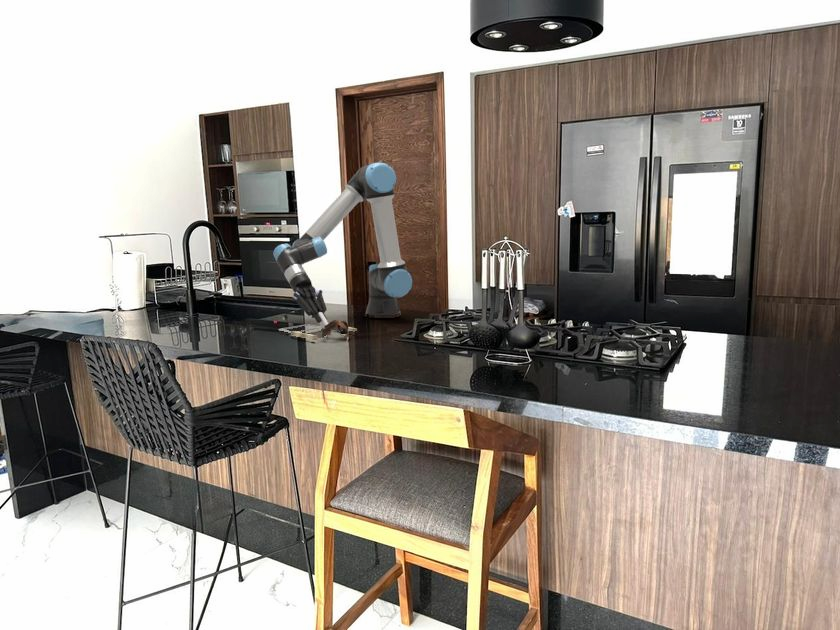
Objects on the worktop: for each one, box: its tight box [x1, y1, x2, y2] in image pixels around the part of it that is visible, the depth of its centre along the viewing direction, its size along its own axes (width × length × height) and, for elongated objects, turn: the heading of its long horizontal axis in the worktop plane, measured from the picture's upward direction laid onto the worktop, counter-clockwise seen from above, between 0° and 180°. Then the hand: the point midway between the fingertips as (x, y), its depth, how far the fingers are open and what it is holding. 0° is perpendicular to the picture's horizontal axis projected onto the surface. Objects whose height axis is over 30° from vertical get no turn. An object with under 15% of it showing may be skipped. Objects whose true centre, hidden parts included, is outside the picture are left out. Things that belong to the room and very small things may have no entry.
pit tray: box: [277, 323, 322, 333], centre depth 236 cm, size 10×14×2 cm
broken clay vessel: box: [321, 318, 351, 338], centre depth 221 cm, size 12×10×8 cm
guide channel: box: [290, 326, 358, 341], centre depth 226 cm, size 14×19×2 cm
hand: (326, 328), depth 224 cm, fingers closed
